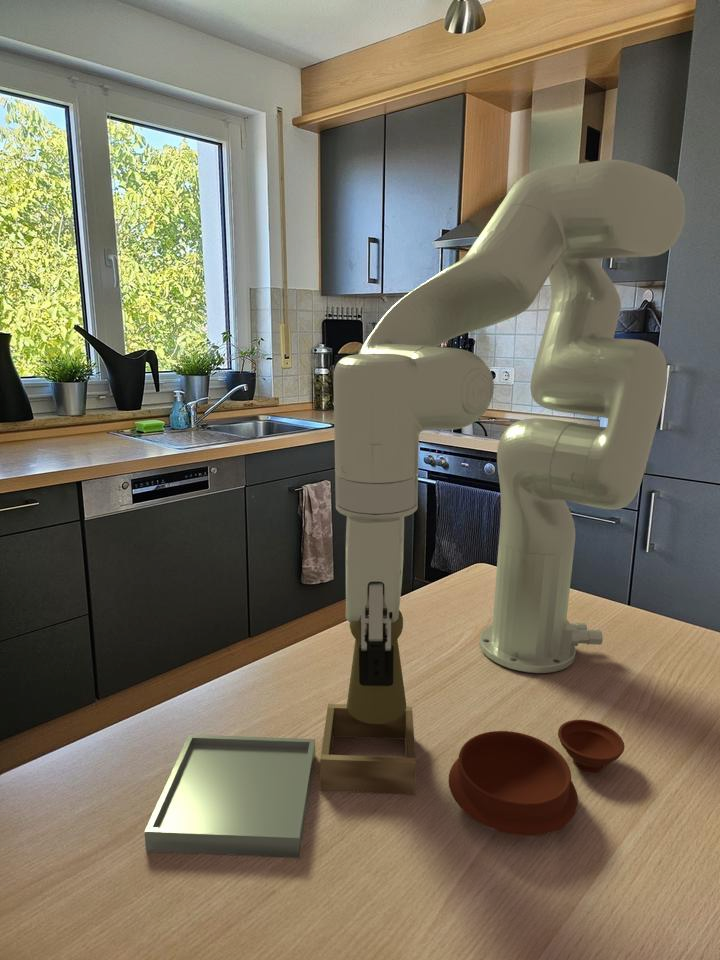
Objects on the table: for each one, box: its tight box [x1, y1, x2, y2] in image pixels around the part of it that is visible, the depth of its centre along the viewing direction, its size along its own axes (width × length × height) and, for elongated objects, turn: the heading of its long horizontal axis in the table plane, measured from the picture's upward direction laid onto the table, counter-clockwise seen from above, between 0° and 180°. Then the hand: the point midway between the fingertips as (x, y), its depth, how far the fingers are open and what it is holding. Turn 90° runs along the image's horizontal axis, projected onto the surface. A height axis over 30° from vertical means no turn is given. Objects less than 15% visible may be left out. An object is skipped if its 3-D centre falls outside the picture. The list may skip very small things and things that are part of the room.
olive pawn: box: [346, 609, 407, 724], centre depth 65 cm, size 6×6×11 cm
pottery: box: [448, 719, 625, 837], centre depth 64 cm, size 12×20×4 cm, turn 122°
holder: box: [319, 703, 417, 795], centre depth 67 cm, size 9×9×4 cm
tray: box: [144, 734, 316, 859], centre depth 61 cm, size 13×13×2 cm
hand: (376, 666), depth 65 cm, fingers closed on olive pawn, 4 cm apart
